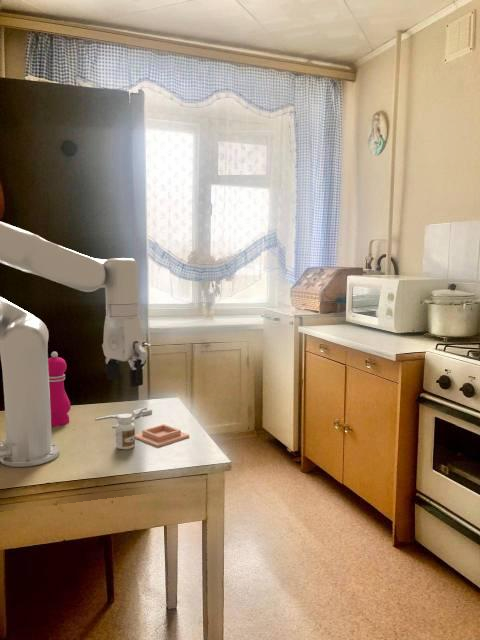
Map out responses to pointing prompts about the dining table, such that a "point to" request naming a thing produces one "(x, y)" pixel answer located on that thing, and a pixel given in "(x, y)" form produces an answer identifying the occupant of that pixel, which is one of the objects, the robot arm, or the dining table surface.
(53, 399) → the pepper mill
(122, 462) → the dining table surface
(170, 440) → the rest
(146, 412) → the pliers
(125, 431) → the pill bottle
